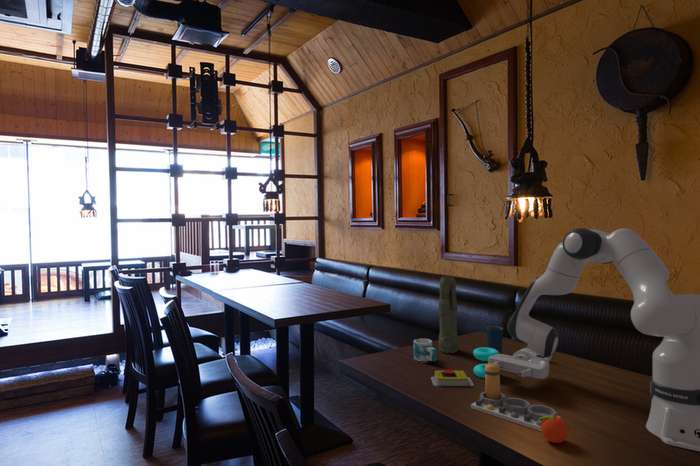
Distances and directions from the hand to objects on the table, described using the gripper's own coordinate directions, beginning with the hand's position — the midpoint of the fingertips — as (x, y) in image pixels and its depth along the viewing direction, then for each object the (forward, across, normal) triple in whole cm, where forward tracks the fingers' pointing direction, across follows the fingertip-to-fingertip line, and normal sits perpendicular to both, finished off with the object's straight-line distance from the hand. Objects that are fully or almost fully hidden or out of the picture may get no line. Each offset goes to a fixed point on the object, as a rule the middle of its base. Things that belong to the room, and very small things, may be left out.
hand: (507, 371), depth 150 cm
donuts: (-14, -16, +9) cm, 23 cm away
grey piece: (+12, +8, +9) cm, 17 cm away
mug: (-12, -44, +9) cm, 47 cm away
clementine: (+20, +23, +9) cm, 32 cm away
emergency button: (+1, -22, +10) cm, 24 cm away
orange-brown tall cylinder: (+10, 0, +8) cm, 13 cm away
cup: (-30, -21, +9) cm, 38 cm away
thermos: (-32, -45, +9) cm, 56 cm away
